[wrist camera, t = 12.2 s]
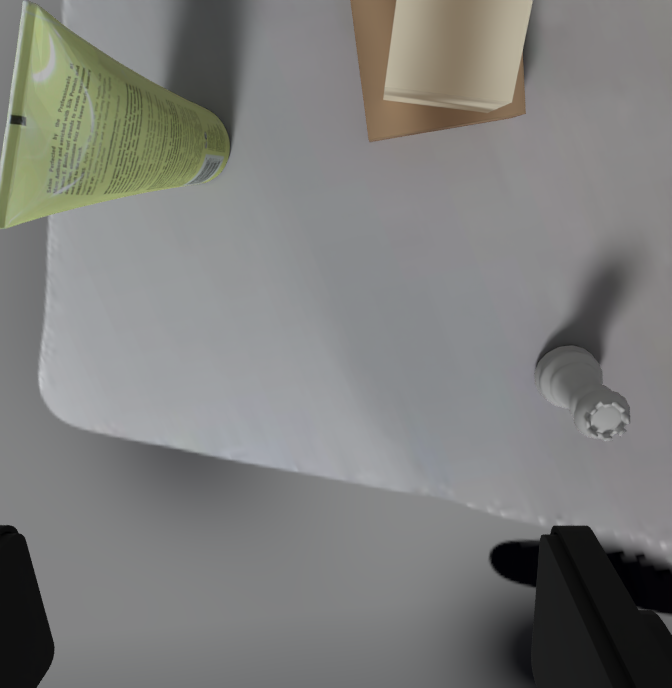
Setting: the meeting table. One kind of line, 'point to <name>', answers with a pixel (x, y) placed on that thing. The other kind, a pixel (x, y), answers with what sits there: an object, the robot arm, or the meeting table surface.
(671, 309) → the meeting table surface
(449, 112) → the walnut block
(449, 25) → the birch block
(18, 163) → the tube
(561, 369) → the rook chess piece
